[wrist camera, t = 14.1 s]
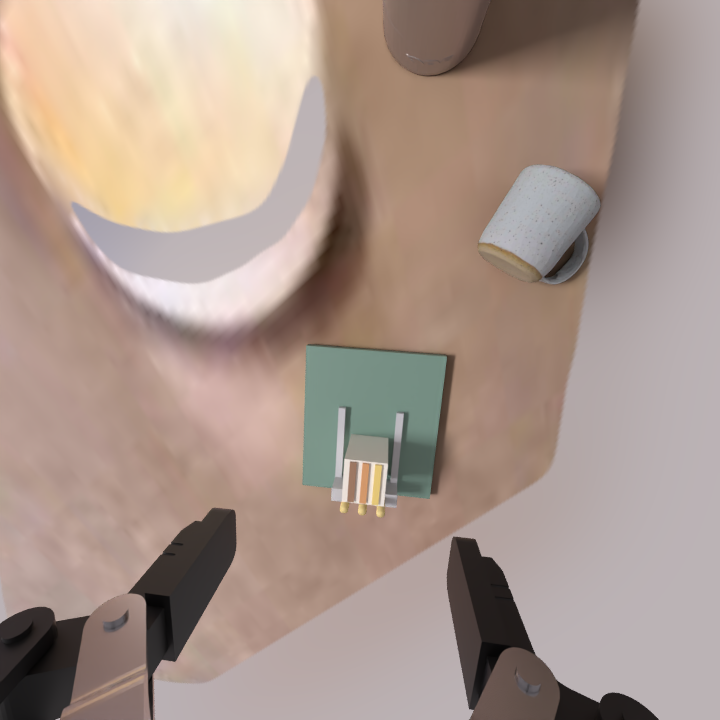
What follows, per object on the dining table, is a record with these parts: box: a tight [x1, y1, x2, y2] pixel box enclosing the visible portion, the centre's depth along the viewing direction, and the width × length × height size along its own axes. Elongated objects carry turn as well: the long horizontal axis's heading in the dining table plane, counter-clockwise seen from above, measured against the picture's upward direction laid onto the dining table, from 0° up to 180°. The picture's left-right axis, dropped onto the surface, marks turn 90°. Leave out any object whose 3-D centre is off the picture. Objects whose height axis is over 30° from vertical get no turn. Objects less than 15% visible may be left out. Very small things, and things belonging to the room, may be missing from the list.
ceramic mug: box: [478, 164, 601, 284], centre depth 31 cm, size 11×8×8 cm
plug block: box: [342, 434, 388, 507], centre depth 37 cm, size 5×4×6 cm
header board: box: [303, 344, 447, 517], centre depth 37 cm, size 18×16×6 cm
